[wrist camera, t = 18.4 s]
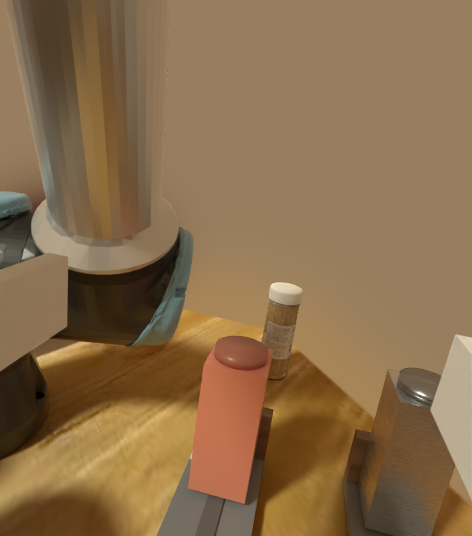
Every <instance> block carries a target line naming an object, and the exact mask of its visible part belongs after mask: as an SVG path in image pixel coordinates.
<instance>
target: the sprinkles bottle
mask: <svg viewBox="0 0 472 536" xmlns="http://www.w3.org/2000/svg"><path fill="white" fill-rule="evenodd" d="M302 294H303V291H302V289H301V288H300V287H298V286H295V285H293V284H288V283H273V284H272V285H271V286H270V292H269V305H268V311H267V317H266V322H265V327H264V331H263V337H262V344H264V345H265V346H266V347H267V349H272V350H273V354H272V360H271V365H270V371H269V376H268V378H270V379H282V378H284V377H285V376H286V374H287V366H288V360H289V356H290V353H291V348H292V342H293V337H294V332H295V327H296V319H297V313H298V308H299V305H300V303H301V299H302Z"/></svg>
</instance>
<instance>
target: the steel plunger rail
mask: <svg viewBox="0 0 472 536" xmlns="http://www.w3.org/2000/svg"><path fill="white" fill-rule="evenodd" d="M370 435H371V433H370V432H366V431H361V430H357V429H356V431H355V435H354V439H353V443H352V447H351V450H350V454H349V458H348V462H347V466H346V470H345V474H344V478H343V492H344V503H345V514H346V524H347V535H348V536H394V535H390V534H387V533H383V532H379V531H376V530H372V529H368V528H365V527H364V520H363V513H362V506H361V499H360V492H359V485H358V480H359V476H360V472H361V469H362V465H363V461H364V457H365V454H366V450H367V446H368V443H369V439H370ZM431 536H434V535H433V532H432V534H431Z"/></svg>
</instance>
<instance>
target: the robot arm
mask: <svg viewBox="0 0 472 536" xmlns="http://www.w3.org/2000/svg"><path fill="white" fill-rule="evenodd" d="M4 4H5V9H6V13H7V18H8V22H9V27H10V32H11V36H12V41H13V46H14V51H15V55H16V60H17V65H18V69H19V74H20V79H21V83H22V88H23V93H24V97H25V102H26V107H27V111H28V116H29V121H30V125H31V130H32V134H33V139H34V144H35V149H36V154H37V158H38V163H39V168H40V172H41V177H42V182H43V186H44V191H45V195H46V199H45V200H44V201H43V202H42V203H41V204H40V205H39V207H38V208H37V209H36V211H35V213H34V212H31V209H32V204H31V202H30V199H29V197H28V196H27V195H25V194H23V193H14V192H0V458H1V457H3V456H5V455H7V454H9V453H10V452H12V451H14V450H15V449H17V448H18V447H20V446H21V445H23V444H24V443H26V442H27V441H28V440H29V439H30V438H31V437H33V436H34V435H35V434H36V433H37V431H38V430H39V429H40V428H41V426H42V425H43V423H44V422H45V420H46V417H47V414H48V400H49V393H48V387H47V383H46V381H45V379H44V376H43V374H42V371H41V369H40V367H39V364H38V362H37V359H36V357H35V355H34V353H33V349H34V348H36V347H37V346H39V345H40V344H41V343H43V342H44V341H46V340H48V339H57V340H70V341H82V342H93V343H104V344H115V345H125V346H127V347H135V346H137V345H145V346H159V345H162V344H165V343H166V342H168V341H169V340H170V339H171V338H172V337H173V335H174V333H175V331H176V329H177V326H178V323H179V320H180V317H181V313H182V309H183V305H184V300H185V291H186V289H187V285H188V281H189V276H190V270H191V264H192V256H193V236H192V234H191V233H190V232H189V231H187V230H184V229H183V228H181V227H179V222H178V217H177V214H176V212H175V210H174V208H173V207H172V206H171V204H170V203H169V202H168V201H167V200H166V199H165V198H164V197H162V191H163V167H164V143H165V119H166V96H167V72H168V47H169V23H170V0H4ZM430 410H431V413H432V415H433V417H434V419H435V421H436V424H437V426H438V428H439V430H440V432H441V435H442V437H443V439H444V441H445V443H446V445H447V448H448V450H449V452H450V454H451V456H452V459H453V461H454V463H455V465H456V467H457V470H458V472H459V474H460V476H461V478H462V481H463V483H464V485H465V487H466V489H467V491H468V494H469V496H470V498H471V500H472V338H470V337H466V336H461V335H455V338H454V341H453V344H452V347H451V350H450V353H449V356H448V359H447V362H446V365H445V368H444V370H443V374H442V376H441V379H440V382H439V385H438V388H437V391H436V394H435V397H434V400H433V403H432V406H431V409H430Z"/></svg>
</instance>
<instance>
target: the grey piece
mask: <svg viewBox="0 0 472 536" xmlns="http://www.w3.org/2000/svg"><path fill="white" fill-rule="evenodd" d="M272 415H273V409H269V408H264V407H263V410H262V416H261V421H260V427H259V433H258V438H257V444H256V450H255V455H254V461H253V466H252V471H251V476H250V480H249V485H248V490H247V495H246V500H245V504H243V503H239V502H235V501H232V500H228V499H224V498H221V497H217V496H213V495H210V494H206V493H202V492H199V491H195V490H192V489H188V484H189V476H190V468H191V460H192V454H191V456H190V459H189V462H188V464H187V466H186V469H185V471H184V473H183V476H182V478H181V480H180V483H179V485H178V487H177V490H176V492H175V494H174V497H173V499H172V501H171V504H170V506H169V508H168V511H167V513H166V515H165V518H164V520H163V522H162V524H161V527H160V529H159V531H158V534H157V536H251V535H252V529H253V523H254V517H255V511H256V505H257V500H258V494H259V488H260V482H261V476H262V470H263V464H264V459H265V453H266V448H267V442H268V437H269V432H270V426H271V421H272Z"/></svg>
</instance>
